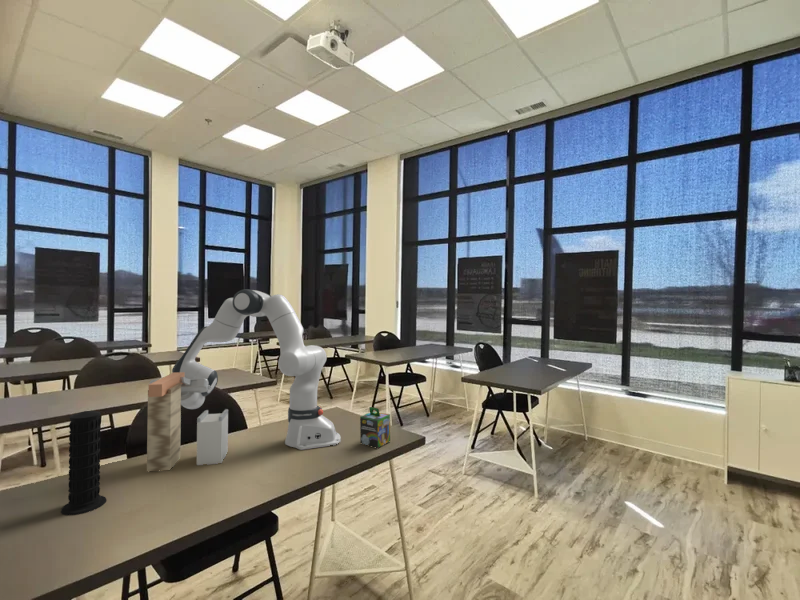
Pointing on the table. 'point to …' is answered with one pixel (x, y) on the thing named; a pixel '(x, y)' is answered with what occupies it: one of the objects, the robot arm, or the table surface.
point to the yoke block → (212, 437)
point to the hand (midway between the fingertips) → (173, 379)
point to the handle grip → (84, 464)
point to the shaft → (164, 384)
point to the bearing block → (164, 430)
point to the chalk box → (375, 428)
